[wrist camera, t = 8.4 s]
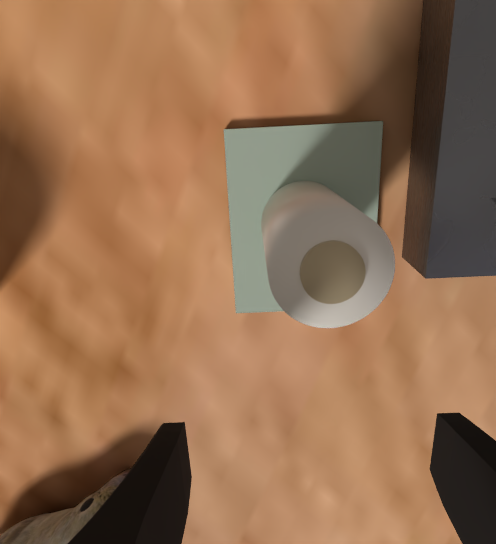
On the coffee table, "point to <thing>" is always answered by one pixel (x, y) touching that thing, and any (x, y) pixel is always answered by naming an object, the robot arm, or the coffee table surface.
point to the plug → (324, 256)
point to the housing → (454, 143)
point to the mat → (284, 170)
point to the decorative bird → (60, 520)
